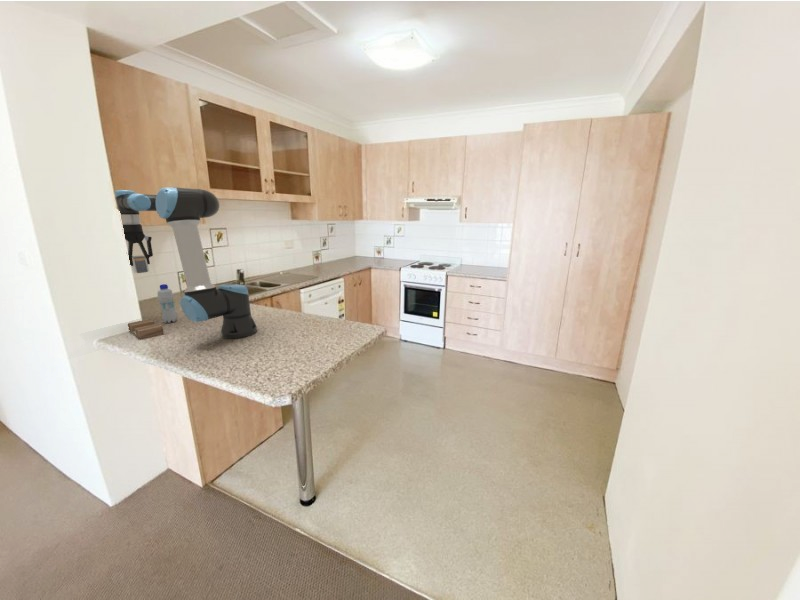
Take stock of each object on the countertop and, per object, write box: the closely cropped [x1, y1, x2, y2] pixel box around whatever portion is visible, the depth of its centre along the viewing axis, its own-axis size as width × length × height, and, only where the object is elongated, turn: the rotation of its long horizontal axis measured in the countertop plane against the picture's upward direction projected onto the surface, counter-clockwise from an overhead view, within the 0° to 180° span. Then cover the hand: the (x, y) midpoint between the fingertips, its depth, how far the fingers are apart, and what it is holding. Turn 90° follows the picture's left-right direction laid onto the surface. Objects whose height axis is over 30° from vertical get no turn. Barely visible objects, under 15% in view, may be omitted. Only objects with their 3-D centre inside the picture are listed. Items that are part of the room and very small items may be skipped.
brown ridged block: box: [127, 318, 165, 340], centre depth 154 cm, size 18×9×4 cm, turn 52°
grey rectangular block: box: [132, 255, 149, 274], centre depth 162 cm, size 4×4×8 cm
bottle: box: [157, 283, 178, 324], centre depth 168 cm, size 7×7×20 cm
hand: (141, 271), depth 163 cm, fingers closed on grey rectangular block, 4 cm apart
